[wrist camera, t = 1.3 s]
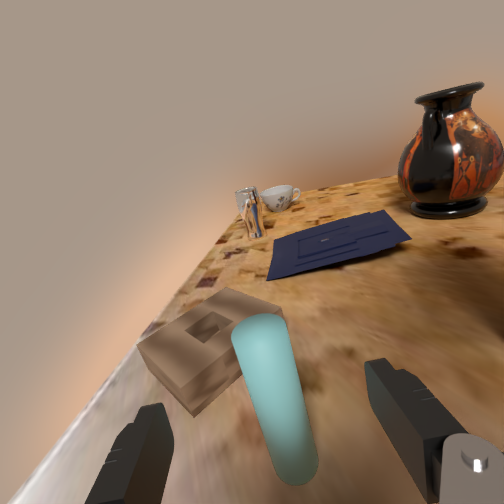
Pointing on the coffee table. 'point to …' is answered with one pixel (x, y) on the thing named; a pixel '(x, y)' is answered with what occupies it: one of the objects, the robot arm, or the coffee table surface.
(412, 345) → the coffee table surface
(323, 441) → the coffee table surface
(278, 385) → the teal pin
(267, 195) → the teacup
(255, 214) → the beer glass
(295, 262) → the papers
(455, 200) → the amphora vase
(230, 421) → the coffee table surface
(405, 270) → the coffee table surface
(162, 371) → the walnut block
